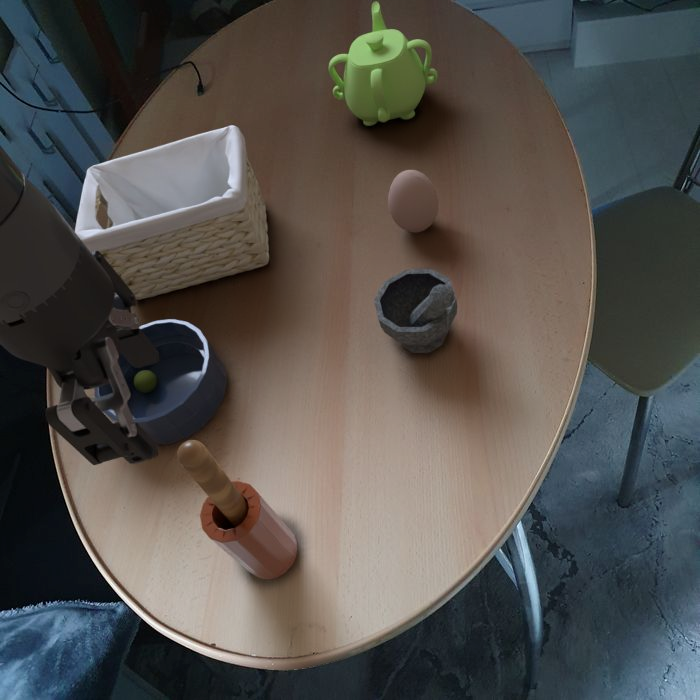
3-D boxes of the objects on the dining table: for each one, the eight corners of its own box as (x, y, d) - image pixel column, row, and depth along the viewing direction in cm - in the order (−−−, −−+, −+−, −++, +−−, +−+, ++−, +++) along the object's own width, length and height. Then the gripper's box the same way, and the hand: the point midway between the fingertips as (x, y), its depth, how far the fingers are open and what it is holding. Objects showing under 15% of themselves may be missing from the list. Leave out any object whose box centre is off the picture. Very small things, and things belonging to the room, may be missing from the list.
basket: (124, 310, 100) (68, 241, 88) (133, 234, 110) (83, 163, 98) (278, 271, 97) (241, 195, 86) (273, 196, 107) (239, 119, 95)
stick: (273, 562, 72) (190, 463, 54) (254, 556, 73) (167, 456, 55) (283, 542, 73) (205, 438, 56) (263, 535, 74) (181, 431, 57)
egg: (407, 205, 99) (395, 152, 91) (450, 214, 96) (441, 160, 88) (386, 238, 96) (372, 187, 88) (429, 248, 93) (419, 196, 85)
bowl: (194, 459, 82) (171, 435, 77) (99, 432, 88) (71, 407, 83) (247, 358, 89) (229, 329, 84) (156, 338, 95) (134, 311, 90)
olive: (154, 399, 88) (143, 387, 86) (136, 394, 90) (125, 382, 87) (165, 380, 90) (155, 368, 87) (147, 375, 91) (136, 363, 89)
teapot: (326, 109, 117) (305, 42, 107) (389, 66, 120) (375, -3, 110) (382, 146, 108) (365, 76, 98) (449, 99, 110) (439, 27, 100)
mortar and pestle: (370, 339, 87) (348, 278, 77) (418, 292, 89) (403, 228, 80) (435, 384, 80) (421, 325, 71) (486, 332, 83) (478, 268, 73)
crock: (284, 587, 71) (243, 550, 61) (235, 569, 73) (189, 531, 64) (306, 533, 74) (270, 490, 64) (258, 518, 76) (217, 474, 66)
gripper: (-23, 203, 43) (106, 347, 56) (-69, 384, 35) (96, 504, 48) (85, 169, 43) (191, 322, 56) (66, 344, 34) (196, 477, 47)
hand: (147, 406), depth 52 cm, fingers open, 8 cm apart
